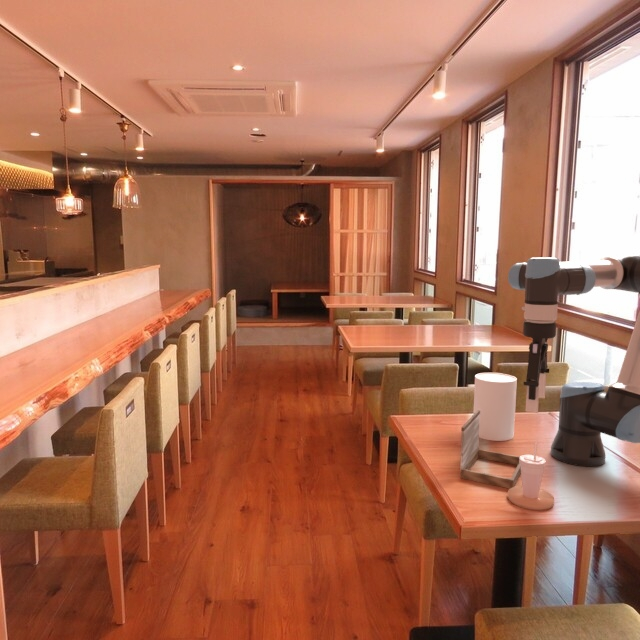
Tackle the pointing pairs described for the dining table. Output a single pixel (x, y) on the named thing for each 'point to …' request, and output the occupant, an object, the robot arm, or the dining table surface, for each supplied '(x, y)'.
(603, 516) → the dining table surface
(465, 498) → the dining table surface
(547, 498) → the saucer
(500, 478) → the box
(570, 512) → the dining table surface
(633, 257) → the robot arm
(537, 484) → the smoothie
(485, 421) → the canister
